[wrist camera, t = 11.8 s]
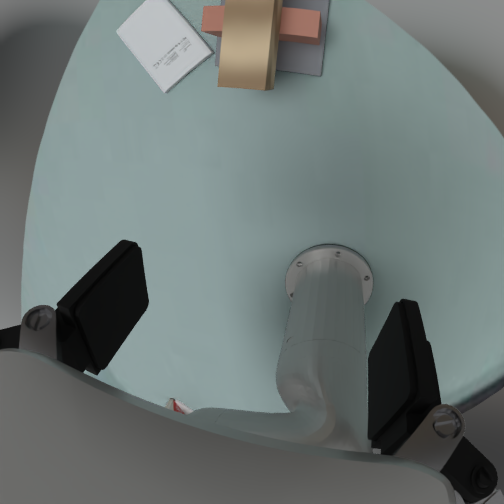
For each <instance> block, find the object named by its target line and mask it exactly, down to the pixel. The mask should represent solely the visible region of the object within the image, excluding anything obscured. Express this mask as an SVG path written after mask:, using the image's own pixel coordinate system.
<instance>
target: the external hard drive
mask: <svg viewBox="0 0 504 504" xmlns="http://www.w3.org/2000/svg"><path fill="white" fill-rule="evenodd" d="M116 33H117V34H118V35H119V37H120V38H121V39H122V40H123V42H124V43H125V44H126V45H127V47H128V48H129V49H130V50H131V52H132V53H133V54H134V55H135V57H136V58H137V59H138V61H139V62H140V63H141V64H142V66H143V67H144V68H145V69H146V71H147V72H148V73H149V74H150V76H151V77H152V78H153V80H154V81H155V82H156V83H157V85H158V86H159V87H160V89H161V90H162V91H163V93H167V92H168V91H170V90H171V89H172V88H173V87H174V86H175V85H176V84H177V83H179V82H180V81H181V80H182V79H183V78H184V77H185V76H186V75H187V74H188V73H189V72H190V71H192V70H193V69H195V68H196V67H197V66H199V65H200V64H201V63H202V62H204V61H205V60H206V59H207V58H209V57H210V56H211V55H212V54H214V52H213V50H212V49H211V48H210V47H209V46H208V44H207V43H206V42H205V41H204V39H203V38H202V37H201V36H200V35H199V34H198V32H197V31H196V30H195V29H194V28H193V27H192V25H191V24H190V23H189V22H188V21H187V20H186V19H185V17H184V16H183V15H182V14H181V13H180V12H179V11H178V10H177V8H176V7H175V6H174V5H173V4H172V3H171V2H170V1H169V0H146V1H145V2H144V3H143V4H142V5H141V6H140V7H139V8H138V9H137V10H136V11H135V12H134V13H133V14H132V15H131V16H130V17H129V18H128V19H127V20H126V21H125V22H124V23H123V24H122V25H121V26H120V27H119V28H118V30H117V31H116Z"/></svg>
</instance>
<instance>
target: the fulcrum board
mask: <svg viewBox="0 0 504 504" xmlns="http://www.w3.org/2000/svg"><path fill="white" fill-rule="evenodd" d="M328 7H329V0H283V4H282V13H281V23H280V32H279V42H278V51H277V61H276V70H279V71H288V72H295V73H303V74H309V75H316V76H321V70H322V62H323V54H324V45H325V36H326V27H327V17H328ZM224 9H225V0H221V6H204V8H203V18H202V29H201V31H202V32H205V33H209V34H212V35H215V36H217V47H216V59H215V66H219V63H220V51H221V40H222V29H223V19H224Z"/></svg>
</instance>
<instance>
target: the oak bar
mask: <svg viewBox="0 0 504 504" xmlns="http://www.w3.org/2000/svg"><path fill="white" fill-rule="evenodd" d="M282 4H283V0H225V9H224V19H223V29H222V40H221V51H220V63H219V75H218V87H231V88H244V89H255V90H272V89H274V80H275V70H276V61H277V51H278V42H279V32H280V23H281V13H282Z"/></svg>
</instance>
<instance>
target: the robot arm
mask: <svg viewBox="0 0 504 504" xmlns="http://www.w3.org/2000/svg"><path fill="white" fill-rule="evenodd" d="M285 288H286V292H287V295H288V297H289V298H290V300H291V302H292V303H291V308H290V312H289V317H288V321H287V326H286V330H285V335H284V339H283V343H282V348H281V352H280V356H279V361H278V365H277V370H276V384H277V389H278V392H279V394H280V396H281V398H282V400H283V402H284V403H285V405H286V406H287V408H288V409H289V411H290V412H291V413H265V412H254V411H244V410H235V409H225V408H202V409H198V410H195V411H193V412H191V413H190V414H188V415H185V414H182V413H179V412H176V411H173V410H171V409H168V408H165V407H162V406H159V405H157V404H154V403H151V402H149V401H146V400H144V399H141V398H139V397H136V396H134V395H131V394H129V393H126V392H124V391H122V390H119V389H117V388H115V387H112V386H110V385H108V384H106V383H104V382H101V381H99V380H97V379H95V378H93V377H91V376H88V375H86V374H84V373H83V372H84V371H85V369H86V370H87V371H89V372H91V373H93V374H95V375H98V374H99V372H100V371H101V369H102V370H104V369H105V368H106V367H107V366H108V364H109V363H110V361H111V360H112V358H113V357H114V355H115V354H116V352H117V351H118V349H119V348H120V346H121V345H122V344H123V342H124V341H125V339H126V338H127V336H128V335H129V333H130V332H131V331H132V329H133V328H134V326H135V325H136V324H137V322H138V321H139V319H140V318H141V316H142V315H143V314H144V312H145V311H146V309H147V307H148V304H149V299H148V293H147V286H146V280H145V273H144V265H143V258H142V250H141V248H140V247H138V244H137V243H136V242H132V241H128V240H121V241H120V242H119V243H118V244H117V245H116V246H115V247H113V248H112V249H111V250H110V251H109V252H108V253H107V254H106V255H105V256H104V257H103V258H102V259H101V260H100V261H99V262H98V263H97V264H96V265H95V266H93V267H92V268H91V269H90V270H89V271H88V272H87V273H86V274H85V275H84V276H83V277H82V278H81V279H80V280H79V281H78V282H77V283H76V284H75V285H74V286H73V287H72V288H71V289H70V290H69V291H68V292H67V293H66V295H65V296H64V297H63V298H62V299H61V300H60V301H59V302H58V303H57V306H58V308H57V309H56V310H54V309H53V308H52V307H50V306H48V305H39V306H36V307H33V308H32V309H30V310H29V311H28V312H27V313H26V314H25V315H24V317H23V319H22V322H21V325H17V326H13V327H10V328H6V329H2V330H0V504H504V496H503V494H502V492H501V490H498V491H497V490H496V485H497V480H498V477H497V472H496V469H495V467H494V466H493V464H492V463H491V462H490V461H489V460H488V459H487V458H486V457H485V456H484V455H483V454H482V453H480V452H479V451H478V450H477V449H476V448H475V447H474V446H473V445H472V444H471V443H470V442H469V441H468V440H467V439H466V438H465V437H464V436H463V435H464V432H465V421H464V418H463V416H462V414H461V413H460V412H459V411H458V410H457V409H456V408H455V407H453V406H451V405H448V404H441V398H440V391H439V385H438V379H437V374H436V368H435V363H434V358H433V353H432V348H431V345H430V342H429V341H427V339H426V335H425V330H424V326H423V322H422V318H421V314H420V310H419V306H418V303H417V302H416V301H412V300H407V299H401V300H400V302H395V303H394V305H393V307H392V310H391V312H390V314H389V316H388V318H387V320H386V322H385V324H384V326H383V328H382V330H381V332H380V334H379V336H378V338H377V340H376V342H375V343H374V345H373V347H372V349H371V351H370V354H369V357H368V405H367V367H366V334H365V314H364V305H365V304H366V303H367V302H368V300H369V298H370V296H371V294H372V290H373V276H372V272H371V269H370V267H369V265H368V264H367V262H366V261H365V260H364V259H363V258H362V257H361V256H360V255H359V254H357V253H356V252H355V251H353V250H351V249H348V248H346V247H342V246H338V245H320V246H316V247H312V248H310V249H308V250H306V251H304V252H302V253H301V254H299V255H298V256H297V257H296V258H295V259H294V260H293V261H292V263H291V264H290V266H289V268H288V271H287V274H286V279H285ZM373 448H378V449H381V454H373Z"/></svg>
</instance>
